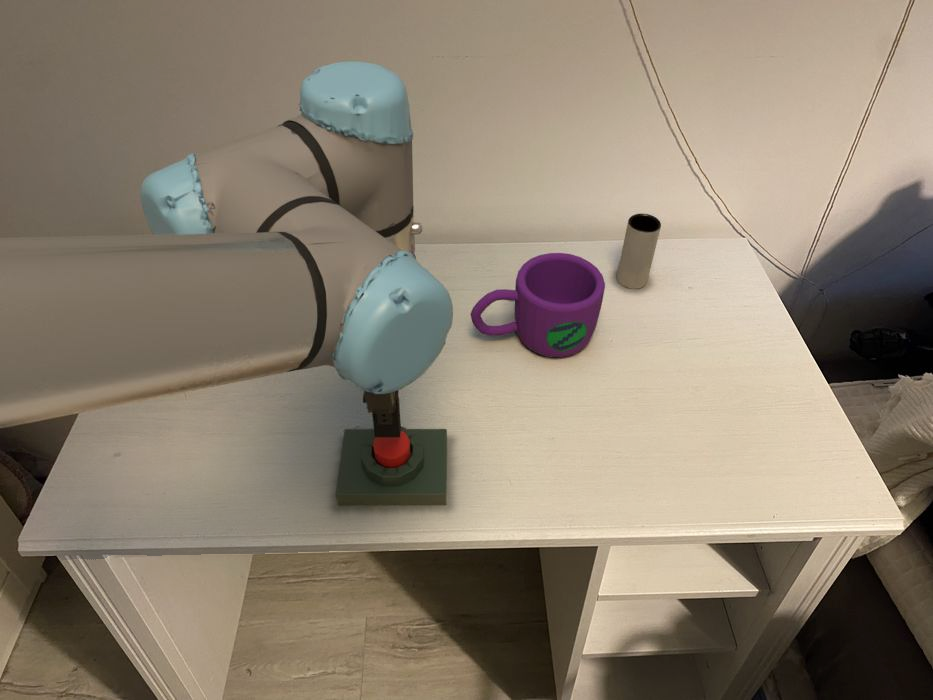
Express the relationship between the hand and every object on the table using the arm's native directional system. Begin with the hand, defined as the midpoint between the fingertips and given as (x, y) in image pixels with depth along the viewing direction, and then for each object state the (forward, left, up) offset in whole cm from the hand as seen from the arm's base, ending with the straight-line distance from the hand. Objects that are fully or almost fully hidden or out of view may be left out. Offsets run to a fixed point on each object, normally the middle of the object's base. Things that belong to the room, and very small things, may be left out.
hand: (388, 431), depth 76 cm
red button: (0, 0, -4) cm, 4 cm away
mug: (+27, +8, -8) cm, 30 cm away
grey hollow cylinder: (+47, +9, -8) cm, 49 cm away
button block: (0, 0, -8) cm, 8 cm away
